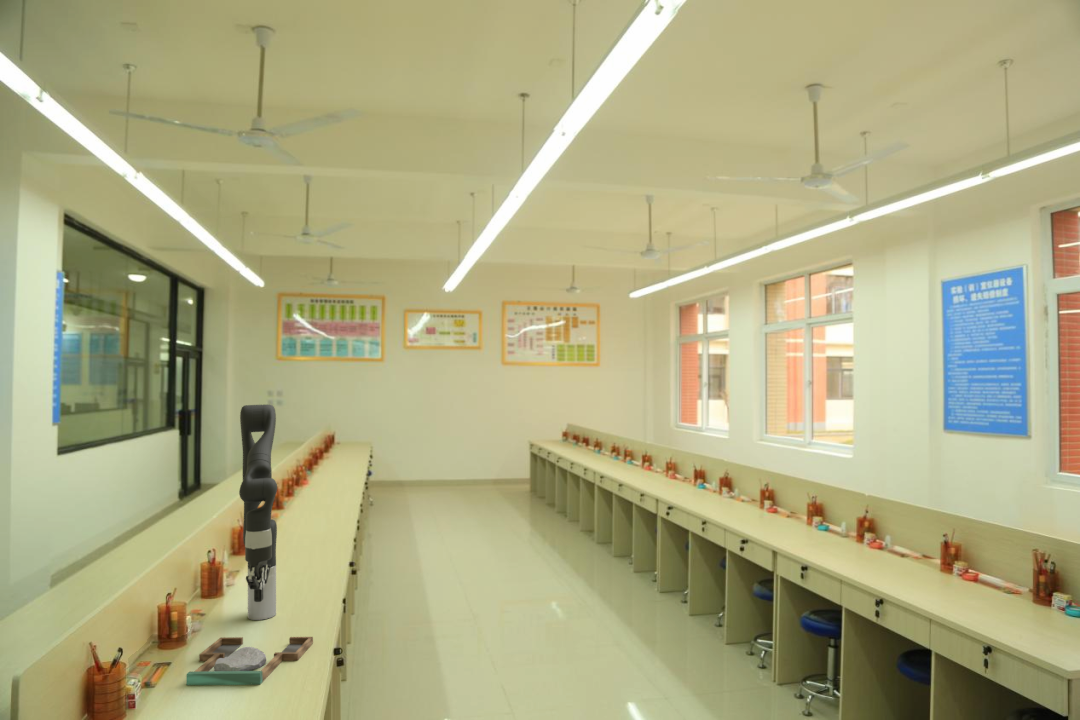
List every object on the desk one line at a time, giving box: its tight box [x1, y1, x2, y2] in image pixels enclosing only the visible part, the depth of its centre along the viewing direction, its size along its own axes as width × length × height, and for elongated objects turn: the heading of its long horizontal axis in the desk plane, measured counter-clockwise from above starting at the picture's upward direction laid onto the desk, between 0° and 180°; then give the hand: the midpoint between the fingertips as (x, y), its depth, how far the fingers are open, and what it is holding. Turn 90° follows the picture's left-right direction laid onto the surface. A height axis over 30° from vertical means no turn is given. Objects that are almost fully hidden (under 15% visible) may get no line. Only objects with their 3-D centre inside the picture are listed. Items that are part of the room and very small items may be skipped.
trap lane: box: [186, 636, 314, 686], centre depth 197 cm, size 28×29×3 cm
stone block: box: [213, 646, 267, 671], centre depth 194 cm, size 12×5×10 cm
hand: (258, 601), depth 206 cm, fingers closed
